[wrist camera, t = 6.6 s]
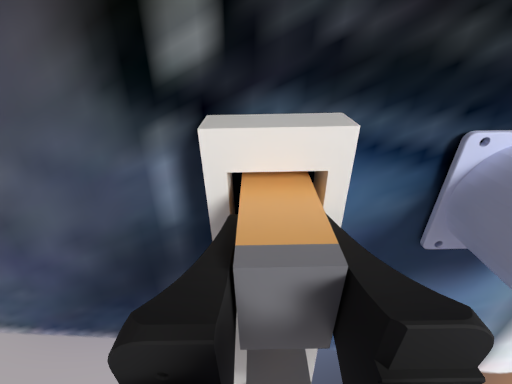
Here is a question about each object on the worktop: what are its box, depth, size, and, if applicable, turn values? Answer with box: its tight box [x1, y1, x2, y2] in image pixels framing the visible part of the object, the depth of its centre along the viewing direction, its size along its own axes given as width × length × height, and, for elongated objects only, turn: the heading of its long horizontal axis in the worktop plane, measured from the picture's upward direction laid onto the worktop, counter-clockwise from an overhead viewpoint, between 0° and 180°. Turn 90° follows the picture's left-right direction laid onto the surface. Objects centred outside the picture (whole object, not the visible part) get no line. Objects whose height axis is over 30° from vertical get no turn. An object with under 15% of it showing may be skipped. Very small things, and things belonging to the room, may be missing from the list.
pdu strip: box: [197, 113, 360, 384], centre depth 17 cm, size 7×28×7 cm, turn 1°
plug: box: [233, 171, 348, 350], centre depth 12 cm, size 4×4×7 cm
